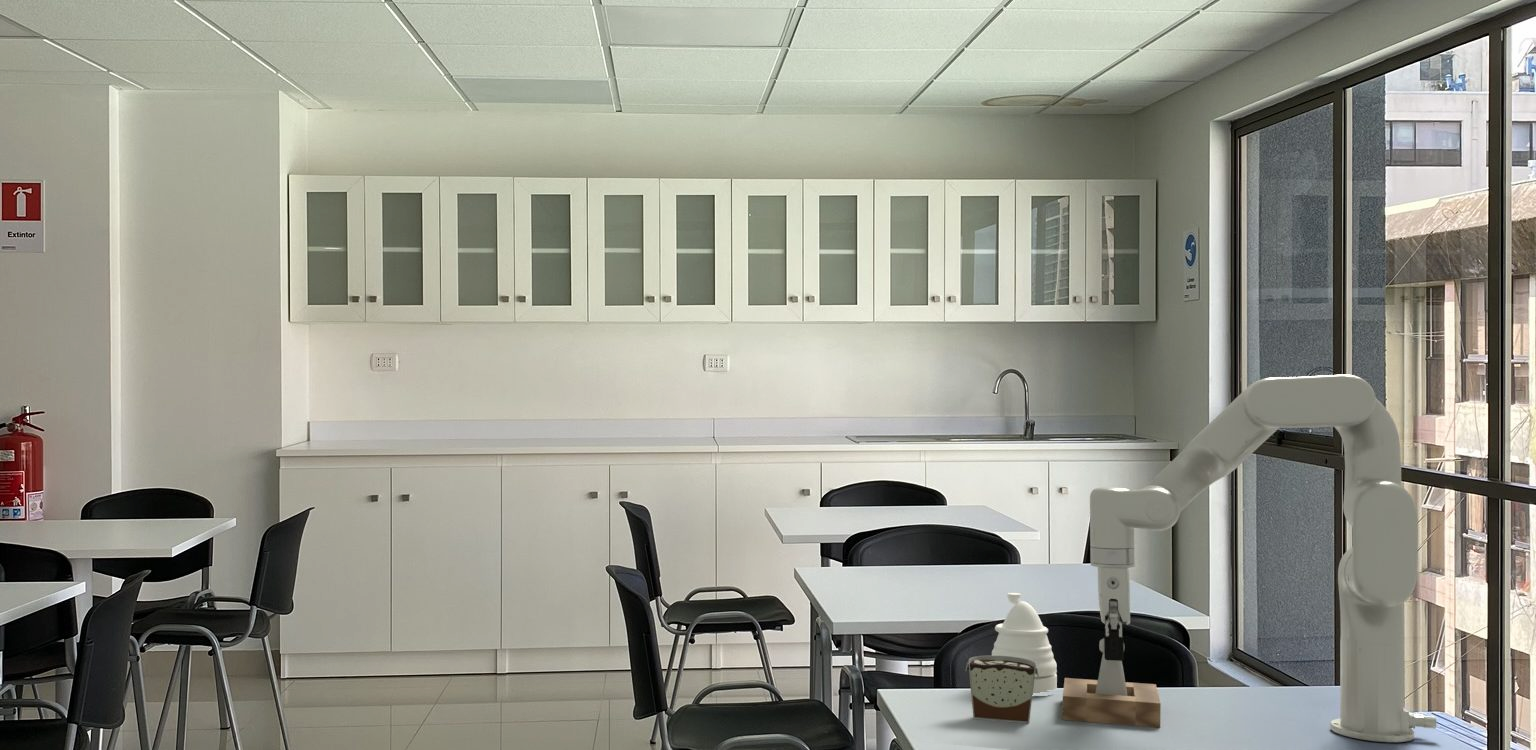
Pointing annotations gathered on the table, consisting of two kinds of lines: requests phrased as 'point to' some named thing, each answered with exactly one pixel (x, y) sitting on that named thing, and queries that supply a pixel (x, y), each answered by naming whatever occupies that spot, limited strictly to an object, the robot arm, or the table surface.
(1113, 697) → the brown wooden square frame
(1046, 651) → the honey pot
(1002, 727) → the table surface
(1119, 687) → the salt shaker
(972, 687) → the food container
